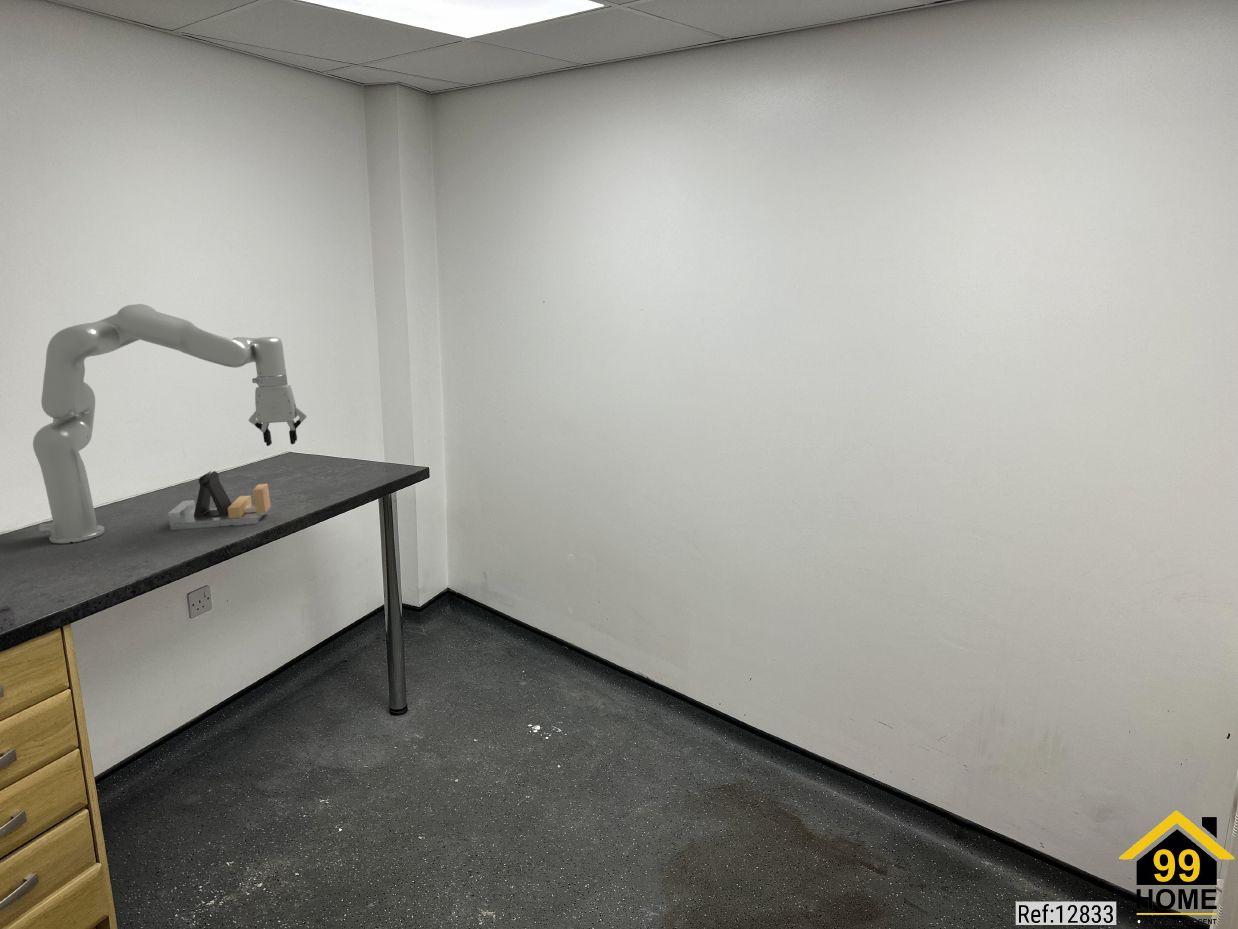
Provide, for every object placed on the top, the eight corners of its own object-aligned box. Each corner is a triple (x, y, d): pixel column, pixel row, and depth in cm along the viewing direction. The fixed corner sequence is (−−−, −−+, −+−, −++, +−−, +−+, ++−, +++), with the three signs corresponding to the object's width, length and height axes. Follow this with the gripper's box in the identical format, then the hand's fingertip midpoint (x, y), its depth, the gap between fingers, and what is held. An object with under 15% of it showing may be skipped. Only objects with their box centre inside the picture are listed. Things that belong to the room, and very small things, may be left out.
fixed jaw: (169, 523, 215) (168, 513, 214) (185, 510, 226) (183, 500, 226) (181, 522, 215) (179, 512, 215) (196, 509, 227) (194, 500, 226)
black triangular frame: (193, 517, 219) (186, 477, 216) (203, 511, 225) (196, 471, 222) (226, 516, 220) (219, 475, 217) (234, 509, 226) (228, 470, 223)
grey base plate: (171, 530, 215) (169, 523, 215) (186, 517, 227) (185, 510, 226) (256, 523, 219) (255, 517, 219) (267, 511, 231) (266, 504, 230)
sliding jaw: (229, 518, 217) (225, 494, 216) (241, 505, 229) (237, 483, 227) (263, 515, 219) (259, 492, 217) (273, 503, 230) (270, 481, 229)
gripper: (236, 385, 211) (245, 449, 216) (302, 381, 214) (310, 445, 219) (243, 381, 219) (252, 443, 223) (307, 378, 222) (315, 439, 226)
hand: (281, 443), depth 221 cm, fingers open, 5 cm apart
